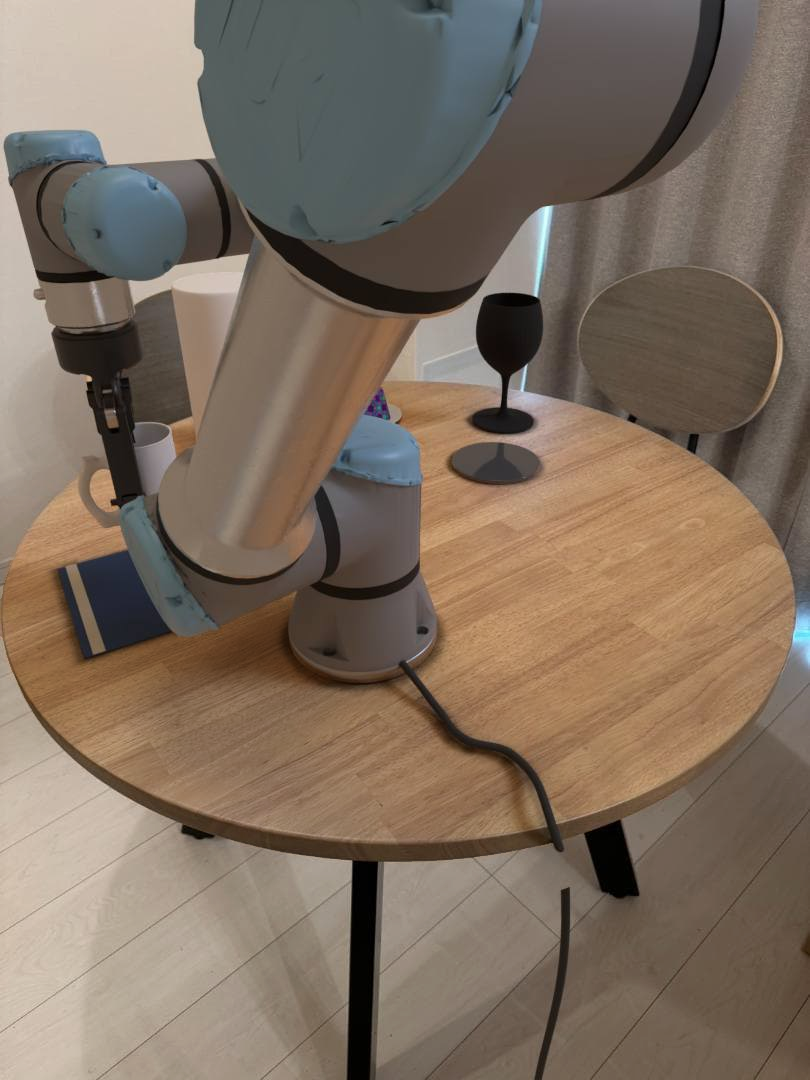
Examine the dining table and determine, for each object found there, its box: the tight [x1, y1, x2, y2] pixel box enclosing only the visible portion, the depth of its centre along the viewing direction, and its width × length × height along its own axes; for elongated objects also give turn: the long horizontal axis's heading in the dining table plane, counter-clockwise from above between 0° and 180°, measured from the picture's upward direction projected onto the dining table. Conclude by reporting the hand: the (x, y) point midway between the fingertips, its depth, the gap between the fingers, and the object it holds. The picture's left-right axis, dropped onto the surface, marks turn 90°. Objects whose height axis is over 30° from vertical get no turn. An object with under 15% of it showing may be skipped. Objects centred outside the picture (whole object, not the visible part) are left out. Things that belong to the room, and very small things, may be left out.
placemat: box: [56, 549, 173, 660], centre depth 84 cm, size 18×18×1 cm
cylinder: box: [170, 271, 244, 439], centre depth 108 cm, size 12×12×25 cm
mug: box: [77, 421, 177, 529], centre depth 77 cm, size 10×7×12 cm, turn 121°
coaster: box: [451, 441, 541, 485], centre depth 110 cm, size 13×13×1 cm
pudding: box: [364, 386, 403, 424], centre depth 123 cm, size 12×12×5 cm
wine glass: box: [471, 292, 544, 435], centre depth 118 cm, size 10×10×20 cm
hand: (143, 536), depth 80 cm, fingers closed on mug, 6 cm apart
